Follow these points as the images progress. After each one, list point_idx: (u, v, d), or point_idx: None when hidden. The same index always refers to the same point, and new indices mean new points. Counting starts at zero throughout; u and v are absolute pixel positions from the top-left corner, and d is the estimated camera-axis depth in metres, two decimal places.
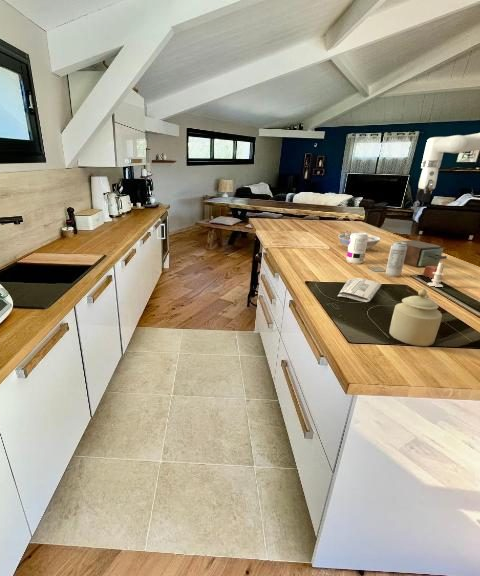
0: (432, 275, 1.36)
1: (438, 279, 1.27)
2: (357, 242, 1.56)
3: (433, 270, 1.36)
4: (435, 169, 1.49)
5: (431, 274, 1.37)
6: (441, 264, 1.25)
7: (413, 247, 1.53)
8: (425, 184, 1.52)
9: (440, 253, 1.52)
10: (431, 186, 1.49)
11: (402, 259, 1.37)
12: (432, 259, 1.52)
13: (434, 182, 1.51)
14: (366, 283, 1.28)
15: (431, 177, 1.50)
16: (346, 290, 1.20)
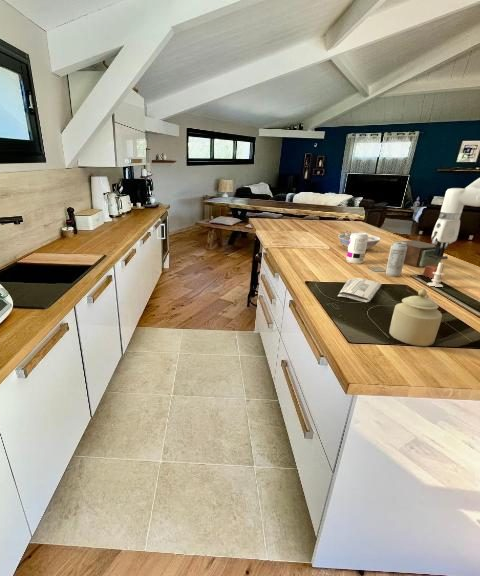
0: (432, 275, 1.36)
1: (438, 279, 1.27)
2: (357, 242, 1.56)
3: (433, 270, 1.36)
4: (442, 222, 1.40)
5: (431, 274, 1.37)
6: (441, 264, 1.25)
7: (413, 247, 1.53)
8: None
9: None
10: None
11: (402, 259, 1.37)
12: (433, 259, 1.51)
13: (439, 235, 1.42)
14: (366, 283, 1.28)
15: (437, 229, 1.42)
16: (346, 290, 1.20)
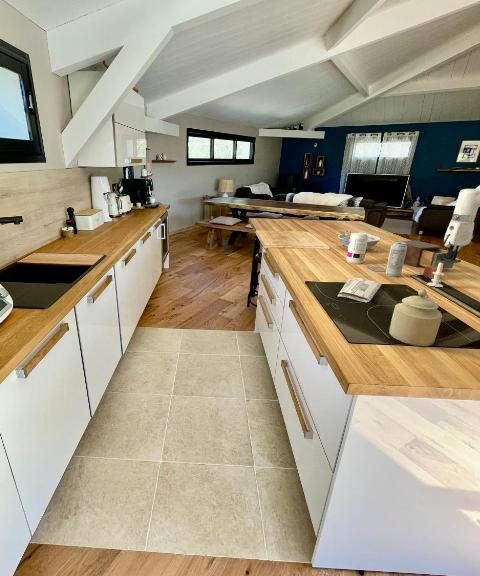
0: (432, 275, 1.36)
1: (438, 279, 1.27)
2: (357, 242, 1.56)
3: (433, 270, 1.36)
4: (455, 224, 1.35)
5: (431, 274, 1.37)
6: (441, 264, 1.25)
7: (413, 247, 1.53)
8: (444, 238, 1.40)
9: None
10: (446, 246, 1.40)
11: (402, 259, 1.37)
12: (445, 263, 1.46)
13: (452, 238, 1.36)
14: (366, 283, 1.28)
15: (450, 232, 1.37)
16: (346, 290, 1.20)
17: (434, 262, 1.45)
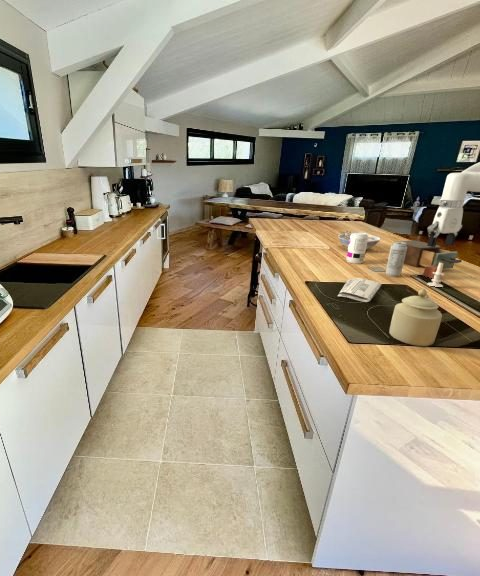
0: (432, 275, 1.36)
1: (438, 279, 1.27)
2: (357, 242, 1.56)
3: (433, 270, 1.36)
4: (443, 210, 1.27)
5: (431, 274, 1.37)
6: (441, 264, 1.25)
7: (413, 247, 1.53)
8: None
9: (454, 257, 1.46)
10: (428, 229, 1.30)
11: (402, 259, 1.37)
12: (446, 263, 1.46)
13: (440, 225, 1.28)
14: (366, 283, 1.28)
15: (438, 219, 1.29)
16: (346, 290, 1.20)
17: (435, 262, 1.44)
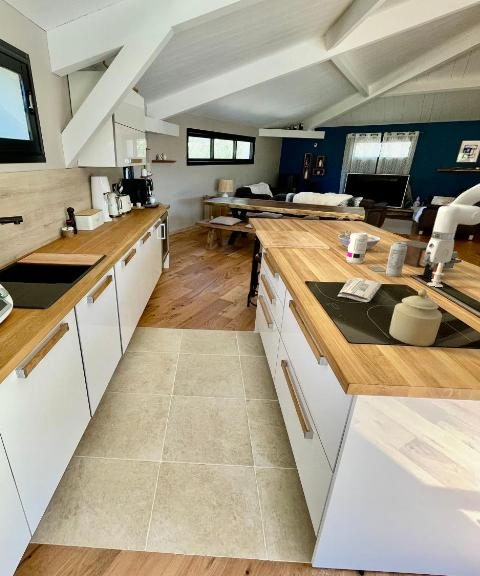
0: (432, 275, 1.36)
1: (438, 279, 1.27)
2: (357, 242, 1.56)
3: (433, 270, 1.36)
4: (435, 242, 1.31)
5: None
6: (441, 264, 1.25)
7: (413, 247, 1.53)
8: (424, 256, 1.36)
9: (454, 257, 1.46)
10: (423, 263, 1.35)
11: (402, 259, 1.37)
12: None
13: (432, 256, 1.33)
14: (366, 283, 1.28)
15: (430, 250, 1.33)
16: (346, 290, 1.20)
17: None
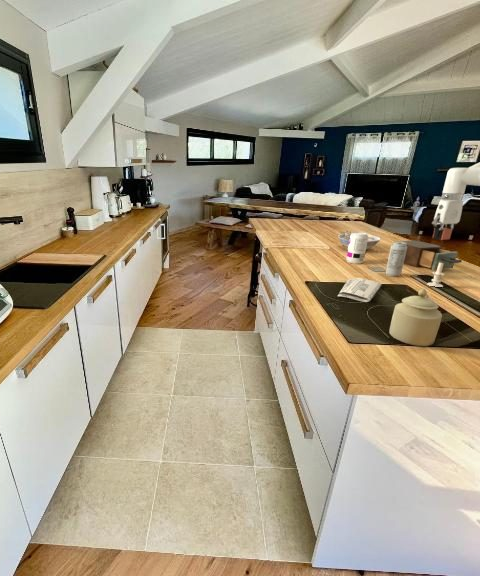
0: (442, 236, 1.42)
1: (438, 279, 1.27)
2: (357, 242, 1.56)
3: (443, 231, 1.42)
4: (445, 203, 1.37)
5: None
6: (441, 264, 1.25)
7: (413, 247, 1.53)
8: (434, 217, 1.42)
9: (454, 257, 1.46)
10: (433, 224, 1.41)
11: (402, 259, 1.37)
12: (446, 263, 1.46)
13: (442, 216, 1.38)
14: (366, 283, 1.28)
15: (440, 211, 1.39)
16: (346, 290, 1.20)
17: (435, 262, 1.44)
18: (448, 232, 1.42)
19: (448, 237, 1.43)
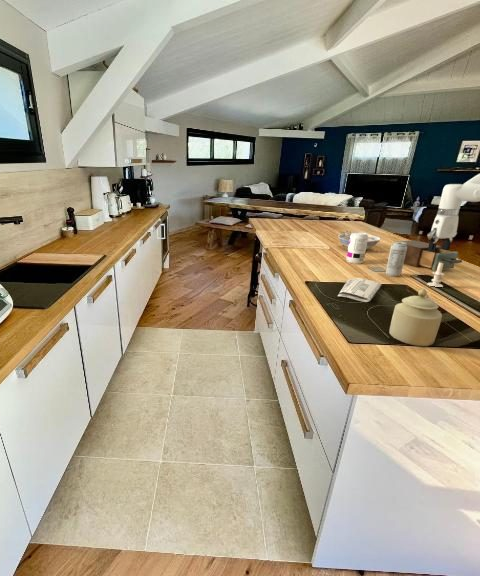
0: None
1: (438, 279, 1.27)
2: (357, 242, 1.56)
3: None
4: (441, 218, 1.41)
5: None
6: (441, 264, 1.25)
7: (413, 247, 1.53)
8: None
9: (455, 257, 1.45)
10: (428, 236, 1.44)
11: (402, 259, 1.37)
12: (446, 263, 1.45)
13: (438, 231, 1.42)
14: (366, 283, 1.28)
15: (436, 226, 1.43)
16: (346, 290, 1.20)
17: (435, 262, 1.44)
18: None
19: None
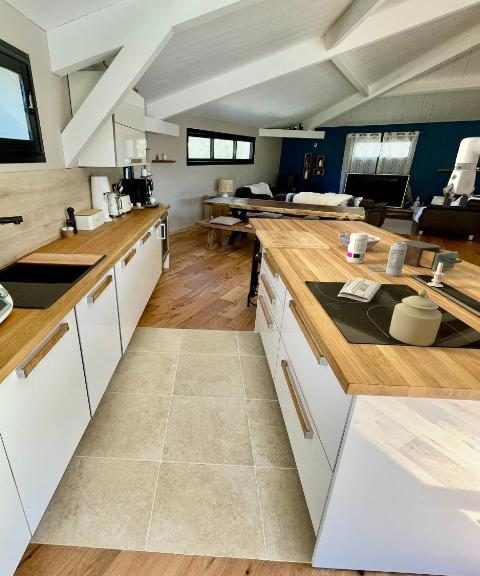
0: None
1: (438, 279, 1.27)
2: (357, 242, 1.56)
3: None
4: (458, 172, 1.39)
5: None
6: (441, 264, 1.25)
7: (413, 247, 1.53)
8: None
9: (455, 257, 1.45)
10: (444, 190, 1.42)
11: (402, 259, 1.37)
12: (446, 263, 1.45)
13: (455, 186, 1.41)
14: (366, 283, 1.28)
15: (453, 181, 1.41)
16: (346, 290, 1.20)
17: (435, 262, 1.44)
18: None
19: None
